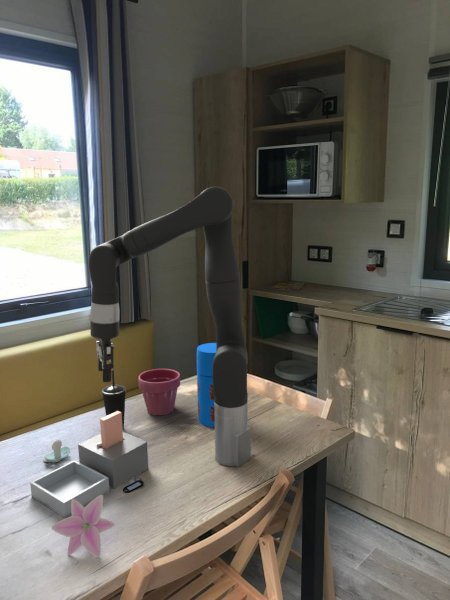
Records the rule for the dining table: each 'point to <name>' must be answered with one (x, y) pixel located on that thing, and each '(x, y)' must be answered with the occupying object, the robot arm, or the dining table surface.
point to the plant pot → (159, 390)
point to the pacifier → (57, 452)
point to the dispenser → (115, 458)
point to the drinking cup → (114, 398)
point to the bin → (69, 487)
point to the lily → (84, 526)
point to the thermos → (205, 384)
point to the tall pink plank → (111, 429)
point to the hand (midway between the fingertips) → (104, 375)
